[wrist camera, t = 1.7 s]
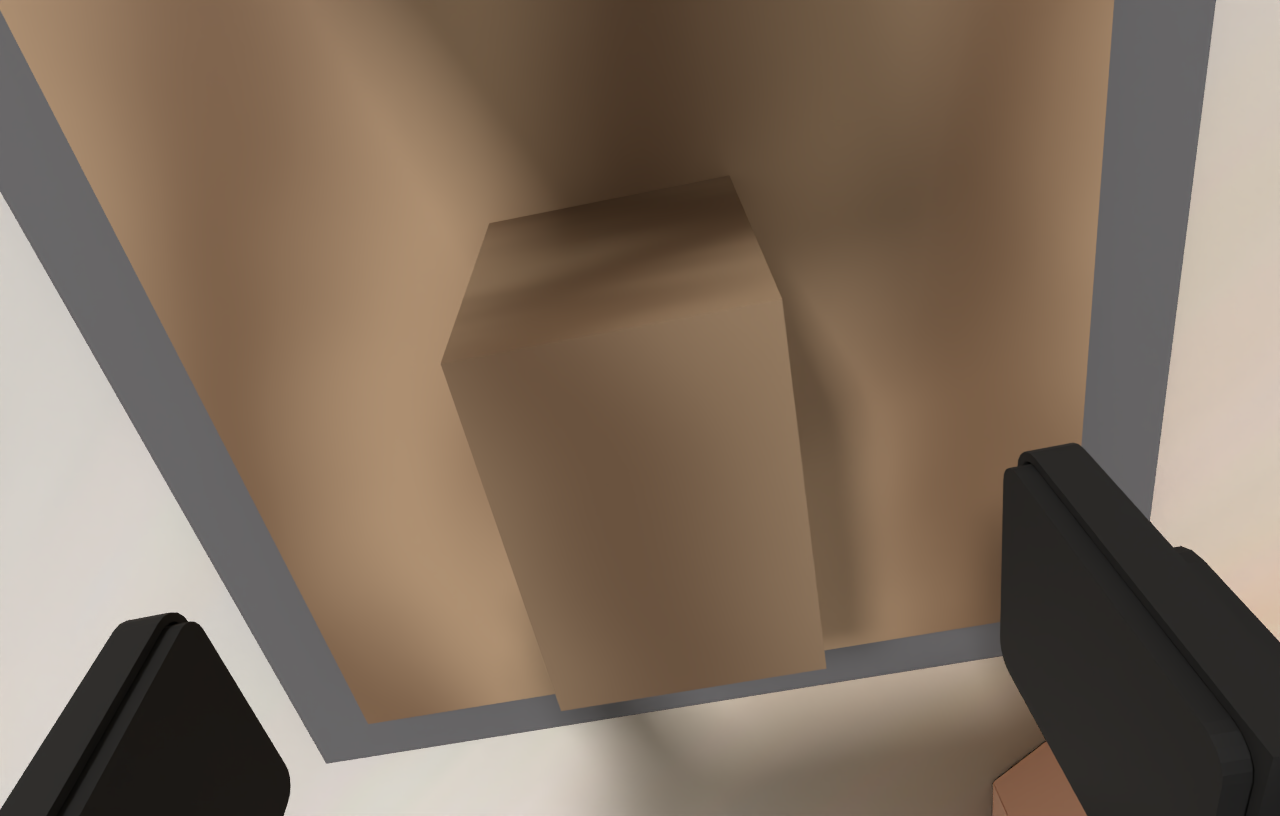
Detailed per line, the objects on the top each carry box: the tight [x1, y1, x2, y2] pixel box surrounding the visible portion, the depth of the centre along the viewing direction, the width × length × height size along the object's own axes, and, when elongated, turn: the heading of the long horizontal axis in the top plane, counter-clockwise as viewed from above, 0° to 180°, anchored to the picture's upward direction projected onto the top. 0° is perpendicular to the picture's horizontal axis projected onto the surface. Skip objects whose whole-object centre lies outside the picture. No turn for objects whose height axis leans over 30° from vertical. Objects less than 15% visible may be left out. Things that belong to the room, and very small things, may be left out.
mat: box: [0, 0, 1216, 764], centre depth 17 cm, size 20×20×1 cm
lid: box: [0, 0, 1114, 724], centre depth 14 cm, size 16×16×6 cm
